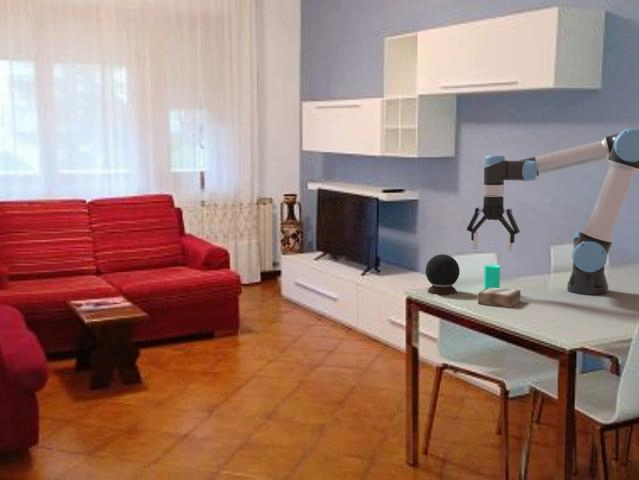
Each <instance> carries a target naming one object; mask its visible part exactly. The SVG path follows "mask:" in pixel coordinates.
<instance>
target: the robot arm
mask: <svg viewBox="0 0 639 480" xmlns="http://www.w3.org/2000/svg"><path fill="white" fill-rule="evenodd" d="M603 161H604V162H605V161H607V162H608V164H609V168H608V171H607V173H606V176H605V179H604V182H603V184H602V186H601V189H600V192H599V194H598V197H597V200H596V202H595V205H594V208H593V210H592V212H591V216H590V219H589V221H588V224H587V227H585V228H584V229H581V230H580V232H576V233H574V235H573V248H572V249H573V250H572V255H571V258H572V271H571V274H570V277H569V279H568V281H567V284H566V285H567V286H566V290H567V291H568V292H571V293H573V294H574V293H575V294H578V295H579V294H581V295H591V296H592V295H595V296H596V295H597V296H598V295H605V294H608V293H609V284H608V281H607V277H606V273H605V265H606V264H607V261H608V254H609V252H610V249H611V246H612V244H613V242H614V241H613V239H612V237H611V234H612V232H613V229H614V226H615V225H616V222H617V218H618V217H619V213H620V211H621V208H622V206H623V203H624V200H625V199H626V196H627V193H628V191H629V188H630V185H631V183H632V180H633V177H634V175H635V174H636V173H637V172H639V127H628V128H625V129H623V130H621V131H619V132H617V133H614V134H611V135H607V136H605V137H603V139H602V140H598V141H595V142H590V143H586V144H582V145H578V146H573V147H568V148H567V149H563V150H562V149H561V150H557V151H554V152H553V151H552V152H549V153H545V154H541V155H536V156H534V157H533V156H532V157H529V158H523V159H520V160H506V158H505V156H504V155H494V154H493V155H486V156H485V158H484V166H483V195H484V196H483V205H482V208H481V207H476V208H475V209H474V214H473V216H472V218H471V220H470V222H469V224H468V226H467V228H466V231H468V232H470V233H471V234H470V235H471V237H470V238H471V241H472V242H473V247H472V249H473V250H477V249H478V248H479V246H478V243H479V232H477V231H478V230H479V229H480V227H481V226H482V225H484V223H485V222H486V221H487V220H488V221H492V220H493V221H499V223H501V225H502V226H503V227H504V228H505V229H506V231H507V232H508V233H509V234H508V235H507V252H508V253H511V252H512V249H513V244H514V243H515V242H516V241H515V239H516V237H515V236H516V235H517V234H519V233H520V232H521V230H520V229H519V226H518V224H517V222H516V220H515V217H514V215H513V210H512V208H506V209H505V208H504V201H505V200H504V194H505V193H504V191H505V181H518V182H519V181H524V182H525V181H526V182H528V181H536V180H537V178H538V176H543V175H547V174H551V173H556V172H560V171H564V170H569V169H573V168H578V167H581V166H585V165H590V164H594V163H599V162H603ZM481 213H483V215H482V217H481V219H480V220H479V221H478V222H477V219H478V218H479V215H480V214H481ZM504 214H505V215H506V217H507V218H508V221H509V222H510V224H509V222H508V221H507V220H506V219H505V217H504ZM476 222H477V223H476ZM475 223H476V225H475Z"/></svg>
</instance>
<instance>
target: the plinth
mask: <svg viewBox="0 0 639 480" xmlns="http://www.w3.org/2000/svg"><path fill="white" fill-rule="evenodd" d="M477 294H478V295H477V304H478V305H484V306H494V307H502V308H503V307H504V308H510V309H511V308H512V307H514V306H516V304H518V303H519V302H521V290H519V289H512V288H511V289H510V288H502V287H500V288H493V287H488V288H487V289H485V290H484V289H482V290H481V291H480V292H478V293H477Z"/></svg>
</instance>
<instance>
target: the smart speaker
mask: <svg viewBox="0 0 639 480" xmlns="http://www.w3.org/2000/svg"><path fill="white" fill-rule="evenodd" d="M425 275H426V279H427V280H428V282H429V283H430V284H431V286H429V288H428V289H427V293H428V294H430V293H431V294H430V295H434V294H439V295H438V296H451V295H450V294H453V295H456V294H457V293H458V292H457V291H458V290H457V288H456V287H454V286H453V285H455V283H457V281H458V279H459V276H460V266H459V263H458V262H457V260H456V259H455V258H454V257H453V256H451V255H449V254H446V253H445V254H444V253H443V254H437V255H434V256H433V257H432V258H430V259H429V260H428V262H427V264H426V266H425ZM455 293H456V294H455Z"/></svg>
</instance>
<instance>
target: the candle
mask: <svg viewBox="0 0 639 480" xmlns="http://www.w3.org/2000/svg"><path fill="white" fill-rule="evenodd" d="M483 272H484V275H483V276H484V278H483V280H484V281H483V290H485V289H487V288H488V287H493V288H501V287H500V286H501V285H500V284H501V265H498V264H494V262H492V263H491V264H488V265H487V264H485V265H484V271H483Z"/></svg>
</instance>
